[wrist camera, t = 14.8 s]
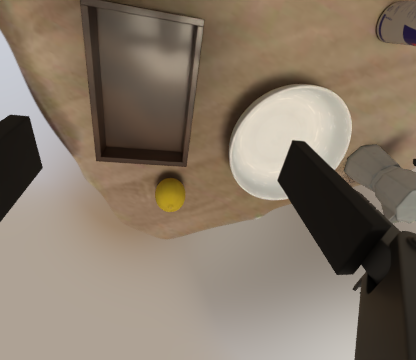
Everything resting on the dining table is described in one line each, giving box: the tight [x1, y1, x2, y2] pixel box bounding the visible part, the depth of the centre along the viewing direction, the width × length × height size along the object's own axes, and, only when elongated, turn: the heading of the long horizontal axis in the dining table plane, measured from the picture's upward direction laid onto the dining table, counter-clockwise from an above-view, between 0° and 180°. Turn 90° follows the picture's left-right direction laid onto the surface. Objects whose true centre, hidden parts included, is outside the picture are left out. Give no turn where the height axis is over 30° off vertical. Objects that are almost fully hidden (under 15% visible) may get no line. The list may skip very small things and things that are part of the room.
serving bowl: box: [229, 84, 352, 200], centre depth 43 cm, size 21×21×7 cm
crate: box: [80, 0, 204, 167], centre depth 37 cm, size 22×15×4 cm
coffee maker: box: [344, 144, 416, 223], centre depth 45 cm, size 15×9×18 cm, turn 139°
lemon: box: [155, 178, 185, 212], centre depth 45 cm, size 6×6×8 cm
